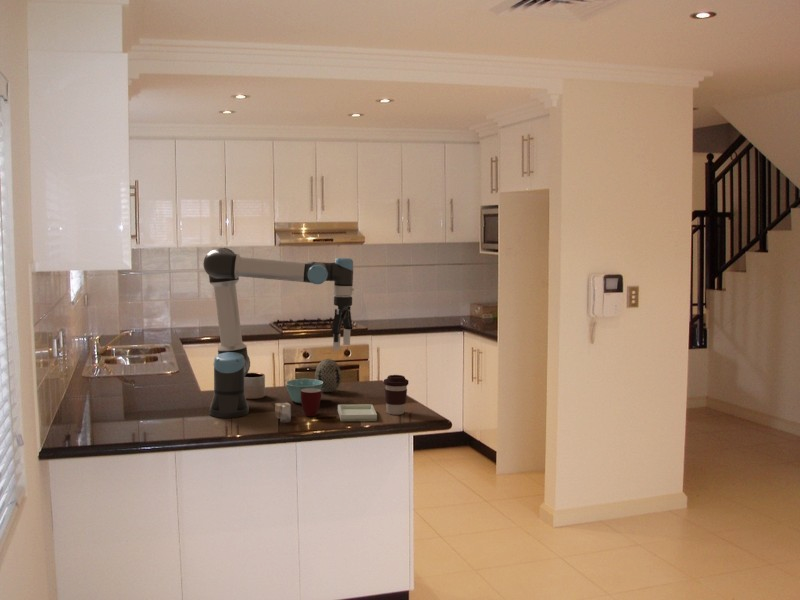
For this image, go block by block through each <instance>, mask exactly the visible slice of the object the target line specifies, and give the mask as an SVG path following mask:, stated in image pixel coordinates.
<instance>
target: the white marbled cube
mask: <svg viewBox="0 0 800 600" xmlns="http://www.w3.org/2000/svg"><path fill="white" fill-rule="evenodd" d="M274 405H275V406H274V416H275V418H277V419H280V409H281V405H291V404H290V403H289V402H276V403H275V404H274Z"/></svg>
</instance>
